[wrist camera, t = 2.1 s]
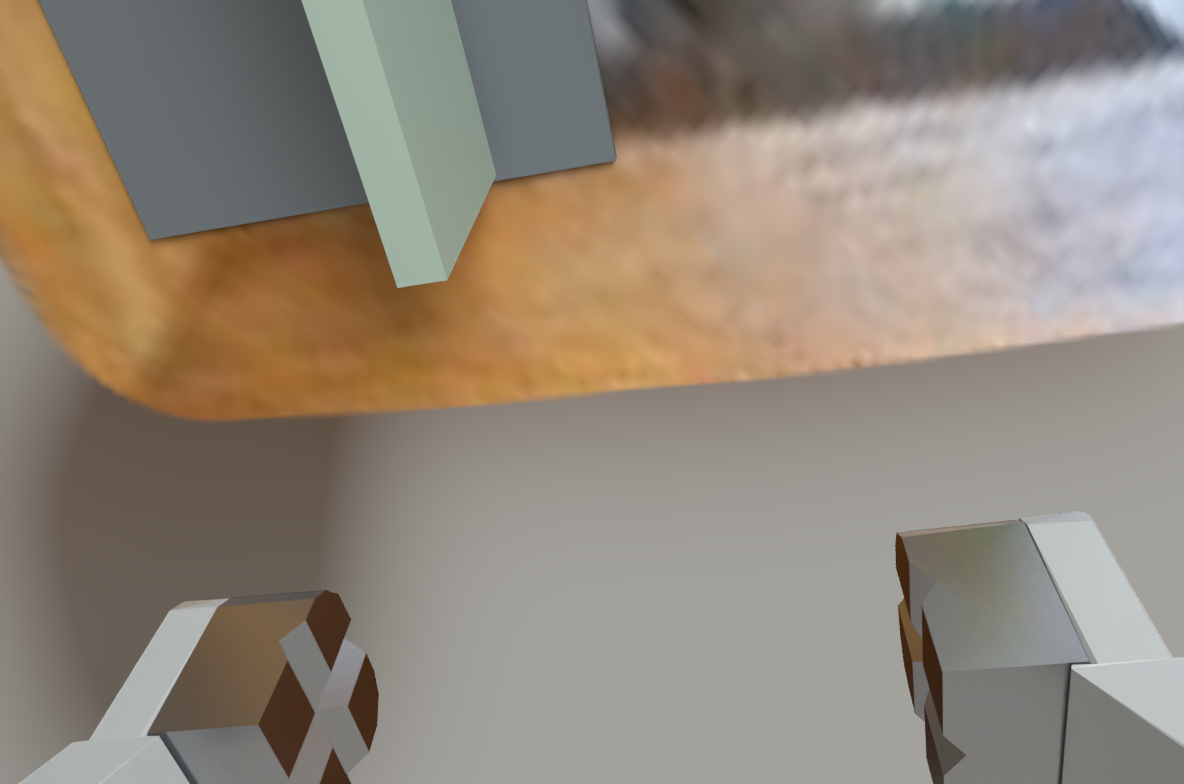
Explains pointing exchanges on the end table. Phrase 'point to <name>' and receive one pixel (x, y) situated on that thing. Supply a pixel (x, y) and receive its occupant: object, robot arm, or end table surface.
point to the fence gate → (408, 125)
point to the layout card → (303, 101)
